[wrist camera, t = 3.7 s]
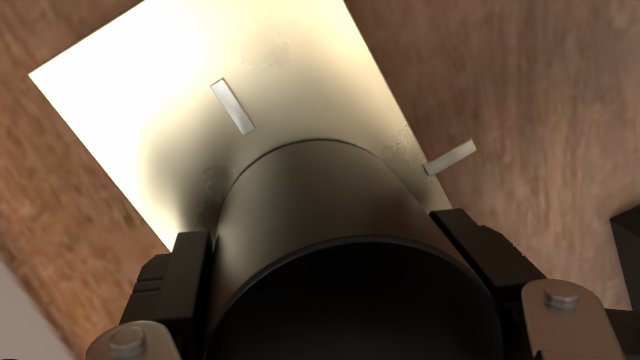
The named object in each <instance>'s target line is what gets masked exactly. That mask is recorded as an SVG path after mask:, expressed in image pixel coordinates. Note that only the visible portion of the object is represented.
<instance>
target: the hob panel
mask: <svg viewBox="0 0 640 360" xmlns="http://www.w3.org/2000/svg"><path fill="white" fill-rule="evenodd" d="M27 76H28V77H29V78H30V79H31V81H32V82H33V83H34V84H35V86H36V87H37V88H38V89H39V91H40V92H41V93H42V94H43V96H44V97H45V98H46V99H47V101H48V102H49V103H50V104H51V106H52V107H53V108H54V109H55V110H56V112H57V113H58V114H59V115H60V117H61V118H62V119H63V120H64V122H65V123H66V124H67V125H68V127H69V128H70V129H71V130H72V132H73V133H74V134H75V135H76V136H77V138H78V139H79V140H80V141H81V143H82V144H83V145H84V146H85V148H86V149H87V150H88V151H89V153H90V154H91V155H92V156H93V158H94V159H95V160H96V161H97V163H98V164H99V165H100V166H101V167H102V169H103V170H104V171H105V172H106V174H107V175H108V176H109V177H110V179H111V180H112V181H113V182H114V184H115V185H116V186H117V187H118V189H119V190H120V191H121V192H122V193H123V195H124V196H125V197H126V198H127V200H128V201H129V202H130V203H131V205H132V206H133V207H134V208H135V210H136V211H137V212H138V213H139V215H140V216H141V217H142V218H143V219H144V221H145V222H146V223H147V224H148V226H149V227H150V228H151V229H152V231H153V232H154V233H155V234H156V236H157V237H158V238H159V239H160V241H161V242H162V243H163V244H164V246H165V247H166V248H167V249H168V250H169V252H170V253H172V249H173V246H174V243H175V240H176V237H177V234H178V232H189V231H201V230H210V232H211V236H212V242H213V250H214V247H215V240H216V233H217V226H218V220H219V216H220V212H221V209H222V206H223V204H224V201H225V199H226V197H227V195H228V193H229V191H230V190H231V188H232V186H233V185H234V184H235V182H236V181H237V180H238V178H239V177H240V176H241V175H242V174H243V173H244V172H245V171H246V170H247V169H248V168H249V167H250V166H251V165H253V164H254V163H255V162H257V161H258V160H259V159H261V158H262V157H264V156H266V155H268V154H269V153H271V152H273V151H275V150H278V149H280V148H283V147H285V146H288V145H292V144H296V143H300V142H307V141H324V140H326V141H335V142H341V143H346V144H350V145H353V146H356V147H358V148H361V149H363V150H365V151H367V152H369V153H371V154H373V155H374V156H376V157H377V158H379V159H380V160H381V161H383V162H384V163H385V164H386V165H387V166H388V167H389V168H390V169H391V170H392V171H393V172H394V173H395V174H396V175H397V177H398V178H399V179H400V180H401V182H402V183H403V184H404V185H405V187H406V188H407V189H408V190H409V192H410V193H411V194H412V195H413V196H414V198H415V199H416V200H417V201H418V203H419V204H420V205H421V206H422V208H423V209H424V210H425V211H426V212H427V214H428V215H429V212H430V211H434V210H446V209H453V207H452V205H451V203H450V201H449V199H448V197H447V196H446V194H445V192H444V190H443V188H442V186H441V184H440V182H439V180H438V178H437V176H436V174H437V173H439V172H440V171H442V170H444V169H445V168H447V167H449V166H451V165H452V164H454V163H456V162H457V161H459V160H461V159H463V158H464V157H466V156H468V155H469V154H471V153H473V152H475V151H476V150H477V149H476V147H475V145H474V143H473V141H472V139H471V138H468V139H466V140H464V141H463V142H461V143H459V144H458V145H456V146H454V147H452V148H451V149H449V150H447V151H446V152H444V153H442V154H440V155H439V156H437V157H435V158H434V159H432V160H430V161H428V159H427V157H426V155H425V153H424V151H423V150H422V148H421V146H420V144H419V142H418V140H417V138H416V136H415V134H414V132H413V130H412V128H411V127H410V125H409V123H408V121H407V119H406V117H405V115H404V113H403V111H402V109H401V107H400V105H399V104H398V102H397V100H396V98H395V96H394V94H393V92H392V90H391V88H390V86H389V84H388V82H387V81H386V79H385V77H384V75H383V73H382V71H381V69H380V67H379V65H378V63H377V61H376V59H375V58H374V56H373V54H372V52H371V50H370V48H369V46H368V44H367V42H366V40H365V38H364V36H363V35H362V33H361V31H360V29H359V27H358V25H357V23H356V21H355V19H354V17H353V15H352V13H351V12H350V10H349V8H348V6H347V4H346V2H345V0H141V1H139V2H138V3H136V4H135V5H133V6H132V7H130V8H128V9H127V10H125V11H124V12H122V13H121V14H119V15H117V16H116V17H114V18H113V19H111V20H110V21H108V22H106V23H105V24H103V25H102V26H100V27H99V28H97V29H95V30H94V31H92V32H91V33H89V34H88V35H86V36H84V37H83V38H81V39H80V40H78V41H76V42H75V43H73V44H72V45H70V46H69V47H67V48H65V49H64V50H62V51H61V52H59V53H58V54H56V55H54V56H53V57H51V58H50V59H48V60H47V61H45V62H43V63H42V64H40V65H39V66H37V67H36V68H34V69H32V70H31V71H29V72H28V73H27Z"/></svg>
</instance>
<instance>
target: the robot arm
mask: <svg viewBox="0 0 640 360" xmlns="http://www.w3.org/2000/svg"><path fill="white" fill-rule="evenodd" d="M429 216H430V217H431V219H432V220H433V221H434V222H435V224H436V225H437V226H438V227H439V228H440V230H441V231H442V232H443V233H444V235H445V236H446V237H447V238H448V240H449V241H450V242H451V243H452V244H453V246H454V247H455V248H456V249H457V251H458V252H459V253H460V254H461V256H462V257H463V258H464V259H465V261H466V262H467V263H468V264H469V265H470V267H471V268H472V269H473V270H474V272H475V273H476V274H477V275H478V277H479V278H480V279H481V280H482V282H483V283H484V284H485V286H486V287H487V289H488V290H489V291H490V293H491V294H492V296H493V298H494V300H495V302H496V304H497V306H498V308H499V312H500V315H501V318H502V321H503V325H504V332H505V339H506V360H640V312H637V311H626V310H615V309H606V308H604V307H603V305H602V302H601V301H600V299H599V298H598V297H597V296H596V295H595V294H594V293H593V292H591V291H590V290H588V289H586V288H584V287H582V286H580V285H578V284H575V283H572V282H568V281H564V280H557V279H548V278H547V277H546V276H545V275H544V274H543V273H542V272H541V271H540V270H539V269H537V268H536V267H535V266H534V265H533V264H532V263H531V262H530V261H529V260H528V259H527V258H526V257H525V256H522V253H521V252H520V251H519V250H518V249H517V248H516V247H513V244H512V243H511V242H510V241H509V240H508V239H506V238H505V237H504V236H503V235H502V234H501V233H499V232H497V231H495V230H493V229H491V228H489V227H486V226H484V225H482V226H478V225H477V224H476V223H475V222H474V221H473V220H472V219H471V218H470V217H469V216H468V215H467V214H466V213H465V212H464V210H462V209H461V208H457V209H446V210H434V211H430V212H429ZM213 254H214V250H213V242H212V236H211V232H210V230H201V231H189V232H178V234H177V237H176V240H175V243H174V246H173V249H172V253H171V254H160V255H155V256H154V257H153V258H152V259H151V260H150V261H148V262H147V263H146V264H145V265H144V266H143V267H142V269H141V271H140V274H139V276H138V278H137V283H135V286H134V288H133V291H132V292H133V293H132V294H131V296H130V298H129V301H128V303H127V305H126V308H125V310H124V313H123V315H122V318H121V320H120V323H119V325H118V326H116V327H114V328H112V329H109V330H108V331H106V332H104V333H103V334H101V335H100V336H98V337H97V338H96V339H95V340H94V341H93V342H92V343H91V344H90V346H89V347H88V349H87V352H86V360H198V356H199V349H200V342H201V335H202V329H203V322H204V315H205V308H206V301H207V294H208V288H209V281H210V274H211V267H212V260H213ZM3 360H16V359H3Z"/></svg>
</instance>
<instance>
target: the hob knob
mask: <svg viewBox="0 0 640 360" xmlns="http://www.w3.org/2000/svg"><path fill="white" fill-rule="evenodd" d="M198 360H506V339H505V332H504V325H503V321H502V318H501V315H500V312H499V308H498V306H497V304H496V302H495V300H494V298H493V296H492V294H491V293H490V291H489V290H488V289H487V287H486V286H485V284H484V283H483V282H482V280H481V279H480V278H479V277H478V275H477V274H476V273H475V272H474V270H473V269H472V268H471V267H470V265H469V264H468V263H467V262H466V261H465V259H464V258H463V257H462V256H461V254H460V253H459V252H458V251H457V249H456V248H455V247H454V246H453V244H452V243H451V242H450V241H449V240H448V238H447V237H446V236H445V235H444V233H443V232H442V231H441V230H440V228H439V227H438V226H437V225H436V224H435V222H434V221H433V220H432V219H431V217H430V216H429V215H428V214H427V212H426V211H425V210H424V209H423V208H422V206H421V205H420V204H419V203H418V201H417V200H416V199H415V198H414V196H413V195H412V194H411V193H410V192H409V190H408V189H407V188H406V187H405V185H404V184H403V183H402V182H401V180H400V179H399V178H398V177H397V175H396V174H395V173H394V172H393V171H392V170H391V169H390V168H389V167H388V166H387V165H386V164H385V163H384V162H383V161H381V160H380V159H379V158H377V157H376V156H374V155H373V154H371V153H369V152H367V151H365V150H363V149H361V148H358V147H356V146H353V145H350V144H346V143H341V142H335V141H326V140H324V141H307V142H300V143H296V144H292V145H288V146H285V147H283V148H280V149H278V150H275V151H273V152H271V153H269V154H268V155H266V156H264V157H262V158H261V159H259V160H258V161H257V162H255V163H254V164H253V165H251V166H250V167H249V168H248V169H247V170H246V171H245V172H244V173H243V174H242V175H241V176H240V177H239V178H238V180H237V181H236V182H235V184H234V185H233V186H232V188H231V190H230V191H229V193H228V195H227V197H226V199H225V201H224V204H223V206H222V209H221V212H220V216H219V220H218V226H217V233H216V240H215V247H214V254H213V260H212V267H211V274H210V281H209V288H208V294H207V301H206V308H205V315H204V322H203V329H202V335H201V342H200V349H199V356H198Z"/></svg>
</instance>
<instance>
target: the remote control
mask: <svg viewBox="0 0 640 360" xmlns="http://www.w3.org/2000/svg"><path fill="white" fill-rule="evenodd" d="M610 222H611V226H612V230H613V234H614V238H615V242H616V246H617V249H618V253H619V257H620V261H621V265H622V269H623V273H624V277H625V281H626V285H627V288H628V292H629V296H630V300H631V304H632V308H633V311H637V312H640V206H639V207H636V208H634V209H632V210H630V211H628V212H626V213H623V214H621V215H619V216H617V217H615V218H613V219H610Z"/></svg>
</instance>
